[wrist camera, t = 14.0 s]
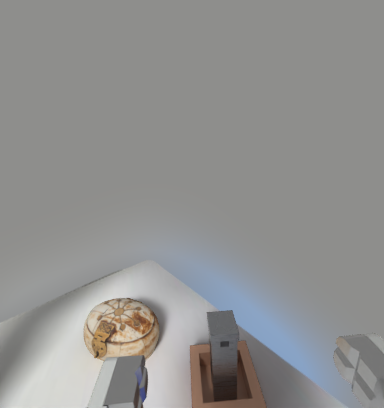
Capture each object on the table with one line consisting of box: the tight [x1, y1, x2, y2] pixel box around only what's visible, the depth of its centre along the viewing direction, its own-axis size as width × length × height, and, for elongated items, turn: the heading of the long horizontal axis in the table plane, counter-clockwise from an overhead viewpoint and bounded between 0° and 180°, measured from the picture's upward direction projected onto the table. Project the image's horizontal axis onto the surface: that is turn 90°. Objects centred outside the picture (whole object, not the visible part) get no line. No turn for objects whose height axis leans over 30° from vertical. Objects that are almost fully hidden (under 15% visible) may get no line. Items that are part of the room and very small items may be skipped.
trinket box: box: [84, 298, 159, 361], centre depth 41 cm, size 13×15×8 cm
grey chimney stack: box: [207, 310, 239, 401], centre depth 30 cm, size 4×4×13 cm
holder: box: [190, 341, 267, 408], centre depth 32 cm, size 10×10×4 cm
